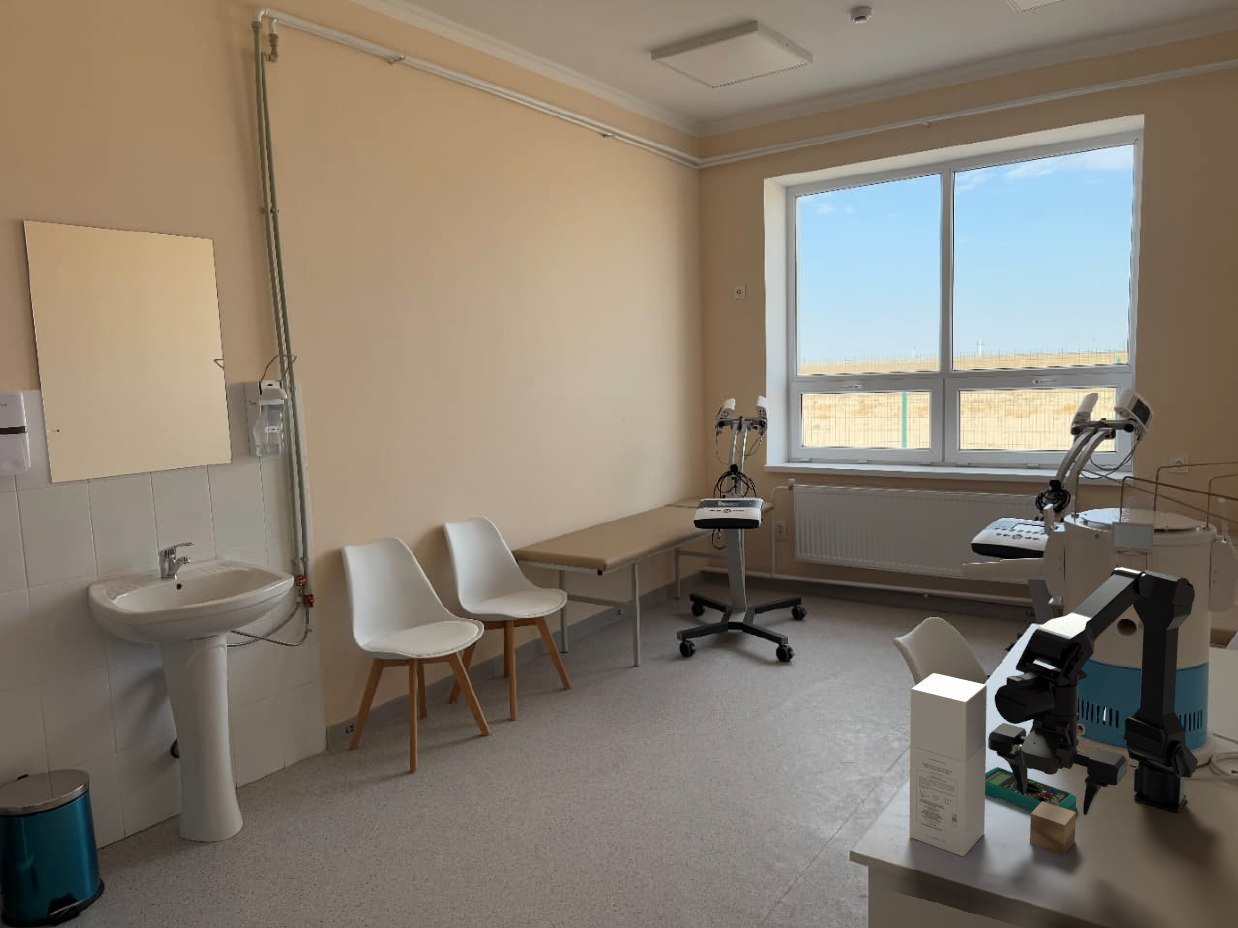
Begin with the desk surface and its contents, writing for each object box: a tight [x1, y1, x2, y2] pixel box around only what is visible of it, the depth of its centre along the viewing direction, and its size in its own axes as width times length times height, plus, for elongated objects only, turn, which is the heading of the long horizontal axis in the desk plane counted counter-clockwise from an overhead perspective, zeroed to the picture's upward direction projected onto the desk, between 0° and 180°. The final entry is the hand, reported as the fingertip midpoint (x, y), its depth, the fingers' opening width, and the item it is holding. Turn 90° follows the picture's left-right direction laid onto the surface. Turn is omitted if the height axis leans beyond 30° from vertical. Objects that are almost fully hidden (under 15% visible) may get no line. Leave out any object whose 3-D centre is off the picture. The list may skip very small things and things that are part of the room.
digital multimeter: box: [985, 766, 1077, 813], centre depth 149 cm, size 7×15×3 cm, turn 39°
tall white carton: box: [909, 672, 988, 857], centre depth 137 cm, size 9×9×25 cm
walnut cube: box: [1029, 801, 1077, 856], centre depth 135 cm, size 5×5×5 cm
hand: (1053, 803), depth 135 cm, fingers open, 9 cm apart
